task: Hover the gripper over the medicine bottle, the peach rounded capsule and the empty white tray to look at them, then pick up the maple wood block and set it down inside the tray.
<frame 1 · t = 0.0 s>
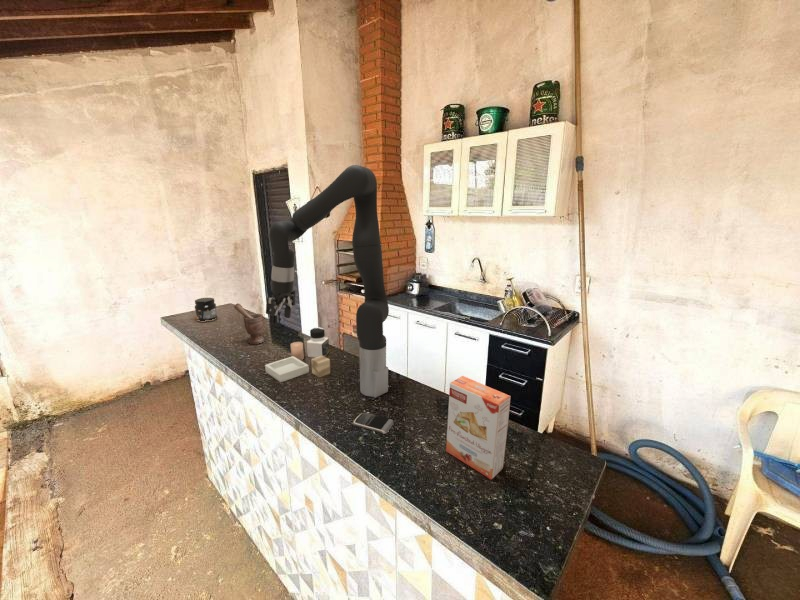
hand: (280, 320, 127), 22 cm above the counter, tool pointing down, fingers open, 8 cm apart
maple block: (321, 373, 135), on the counter
mortar and pestle: (253, 343, 164), on the counter
medicine bottle: (318, 355, 152), on the counter
peach rounded capsule: (297, 359, 147), on the counter
white tray: (287, 372, 136), on the counter
supplement container: (207, 320, 196), on the counter
cracker box: (473, 461, 89), on the counter
cell phone: (373, 425, 104), on the counter
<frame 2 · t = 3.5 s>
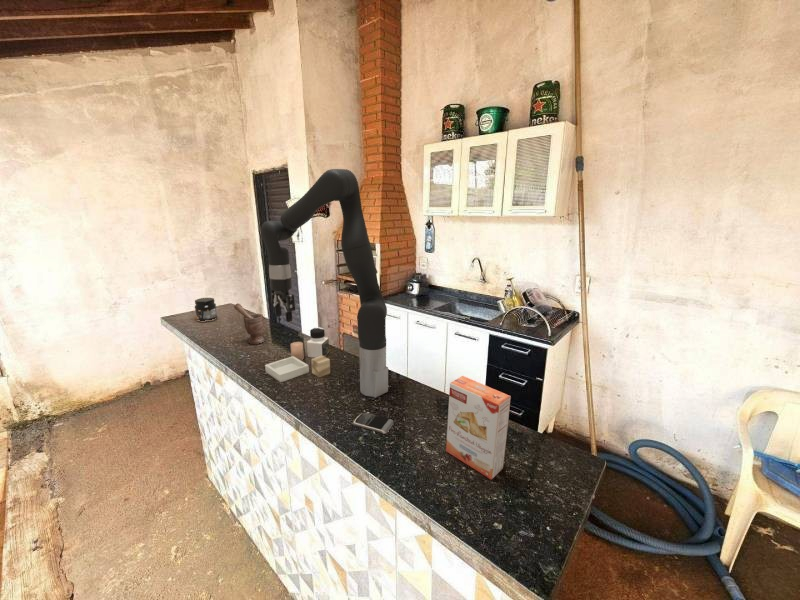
hand: (283, 318, 130), 22 cm above the counter, tool pointing down, fingers open, 8 cm apart
nothing on the counter moved.
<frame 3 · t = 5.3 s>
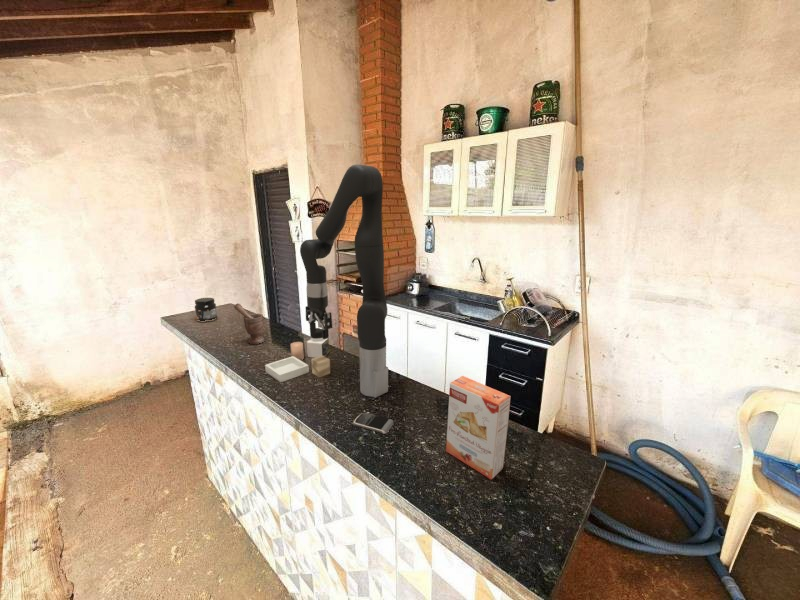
hand: (319, 335, 131), 16 cm above the counter, tool pointing down, fingers open, 8 cm apart
nothing on the counter moved.
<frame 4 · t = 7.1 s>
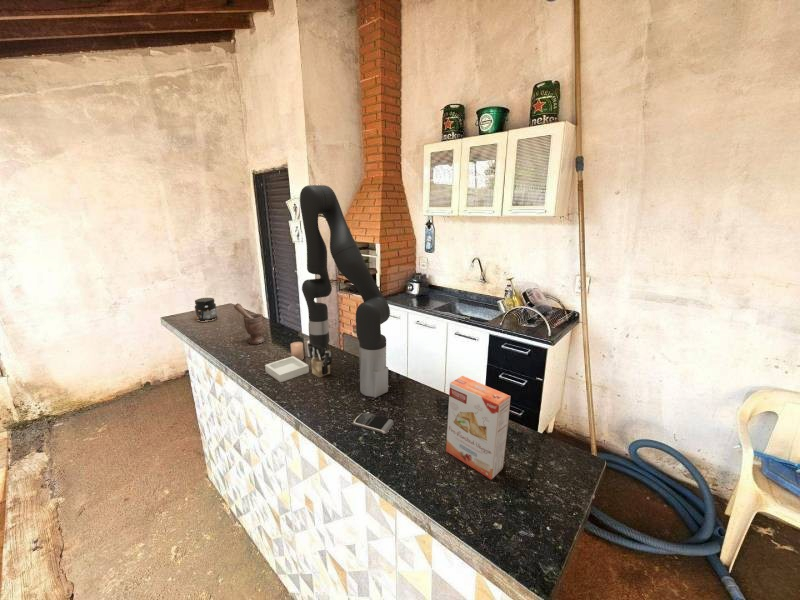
hand: (321, 371, 135), 1 cm above the counter, tool pointing down, fingers closed on maple block, 5 cm apart
maple block: (321, 373, 135), on the counter, touching gripper
everything else where it was.
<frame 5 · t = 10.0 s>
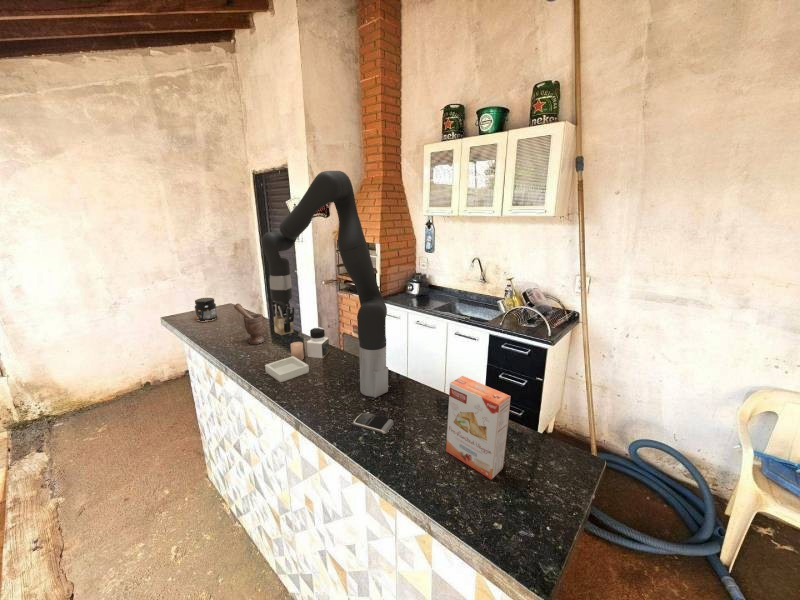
hand: (284, 330, 131), 17 cm above the counter, tool pointing down, fingers closed on maple block, 5 cm apart
maple block: (284, 332, 131), point 17 cm above the counter, touching gripper
everything else where it was.
when the fingers open (4 cm above the counter, at t = 13.0 s): maple block drops 2 cm, resting on white tray.
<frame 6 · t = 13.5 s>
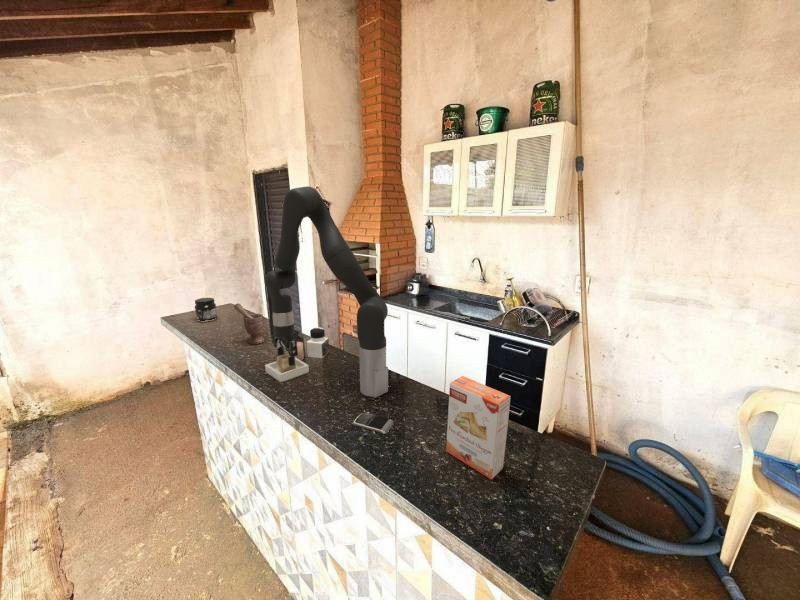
hand: (286, 361, 134), 4 cm above the counter, tool pointing down, fingers open, 8 cm apart
maple block: (287, 370, 135), point 1 cm above the counter, touching white tray
everything else where it was.
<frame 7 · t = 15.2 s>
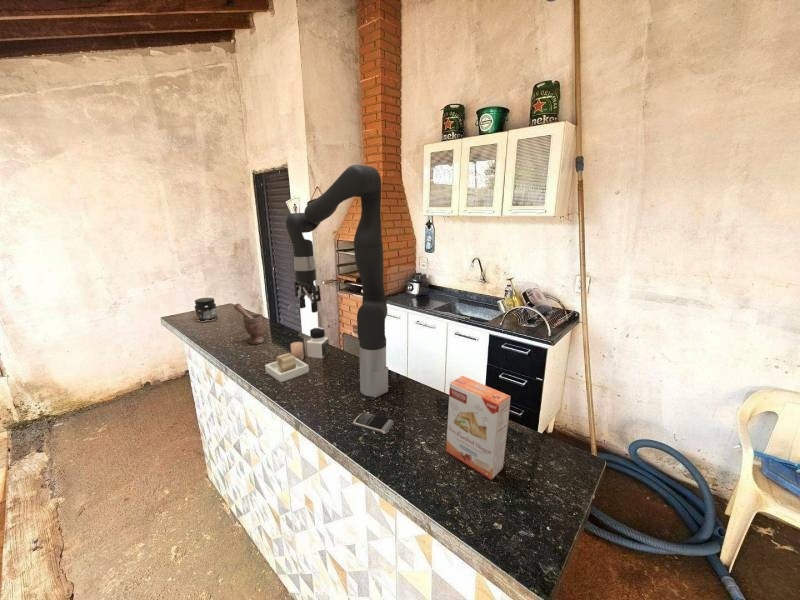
hand: (308, 310, 132), 25 cm above the counter, tool pointing down, fingers open, 8 cm apart
nothing on the counter moved.
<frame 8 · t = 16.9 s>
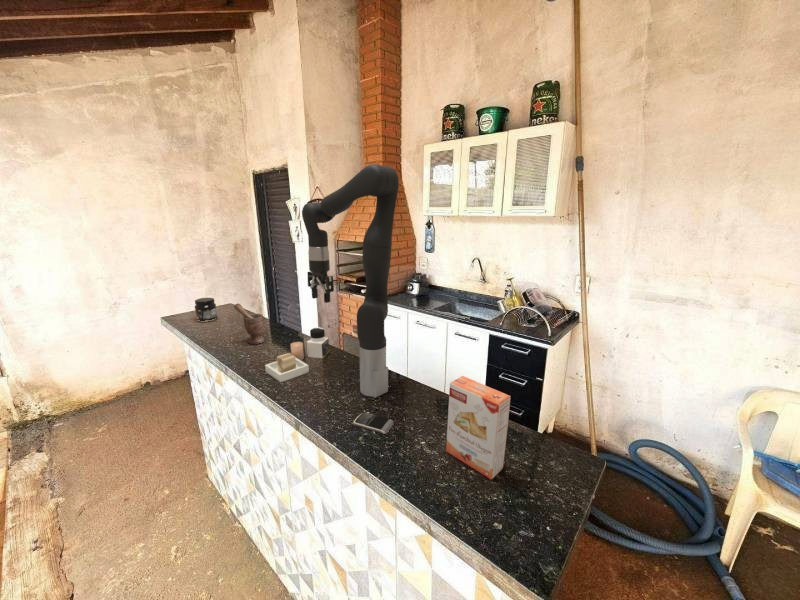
hand: (321, 300, 133), 28 cm above the counter, tool pointing down, fingers open, 8 cm apart
nothing on the counter moved.
at the end: maple block 0.0 cm off-centre on the white tray, point 0.6 cm above the white tray's base; maple block tilted 0°; medicine bottle moved 0.2 cm from its start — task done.
